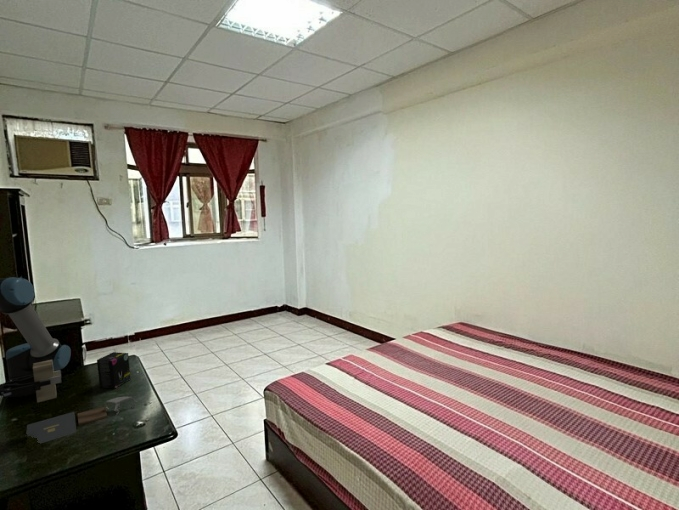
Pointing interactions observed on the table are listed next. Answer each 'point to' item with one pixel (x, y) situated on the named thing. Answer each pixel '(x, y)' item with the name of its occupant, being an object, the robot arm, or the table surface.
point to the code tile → (52, 428)
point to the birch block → (43, 372)
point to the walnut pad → (92, 415)
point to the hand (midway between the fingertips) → (60, 375)
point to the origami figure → (118, 402)
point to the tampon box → (113, 370)
